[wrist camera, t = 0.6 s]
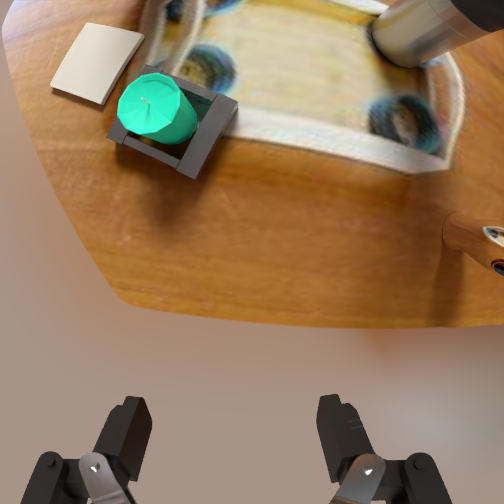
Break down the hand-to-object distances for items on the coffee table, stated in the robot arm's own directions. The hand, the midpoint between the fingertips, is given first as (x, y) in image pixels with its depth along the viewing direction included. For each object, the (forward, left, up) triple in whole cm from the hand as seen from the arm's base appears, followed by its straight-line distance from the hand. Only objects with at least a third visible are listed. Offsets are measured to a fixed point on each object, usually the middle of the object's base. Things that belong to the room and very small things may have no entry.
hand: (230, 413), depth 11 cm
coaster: (-15, -31, -26) cm, 43 cm away
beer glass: (-19, +28, -26) cm, 43 cm away
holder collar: (-11, -15, -26) cm, 32 cm away
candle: (-11, -15, -26) cm, 32 cm away
